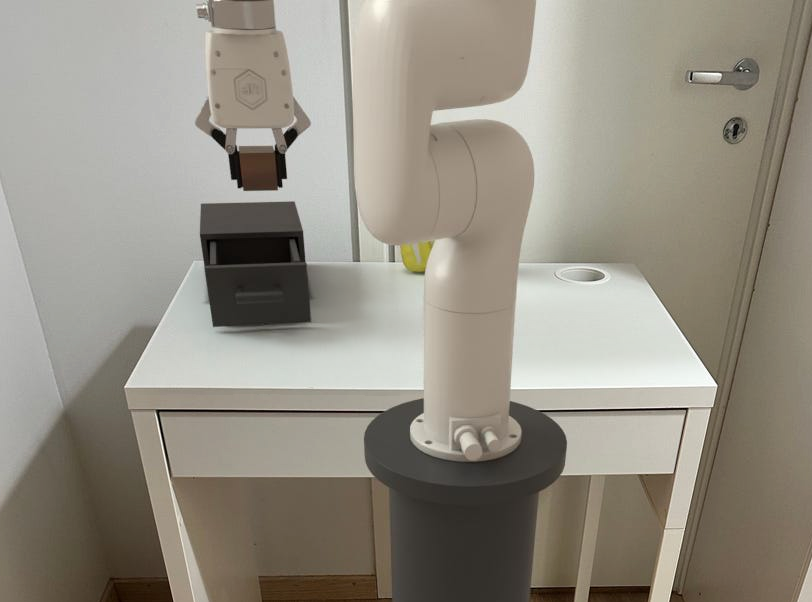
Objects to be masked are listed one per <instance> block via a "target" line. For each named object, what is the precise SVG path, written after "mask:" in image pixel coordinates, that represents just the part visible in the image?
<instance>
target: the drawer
mask: <svg viewBox="0 0 812 602" xmlns="http://www.w3.org/2000/svg"><path fill="white" fill-rule="evenodd" d="M203 267H204V266H203ZM204 275H205V276H204V277H205V282H206V289H207V296H208V303H209V308H210V315H211V316H210V317H211V323H212V328H221V327H222V328H223V327H239V326H240V327H242V326H261V325H283V324H302V323H306V324H307V323H312V313H311V302H310V288H309V287H310V286H309V276H308V275H309V274H308V264H307V262H300V258H299V254H298V250H297V246H296V242H295V238H294V237H274V238H242V239H210V266H205V267H204Z"/></svg>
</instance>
